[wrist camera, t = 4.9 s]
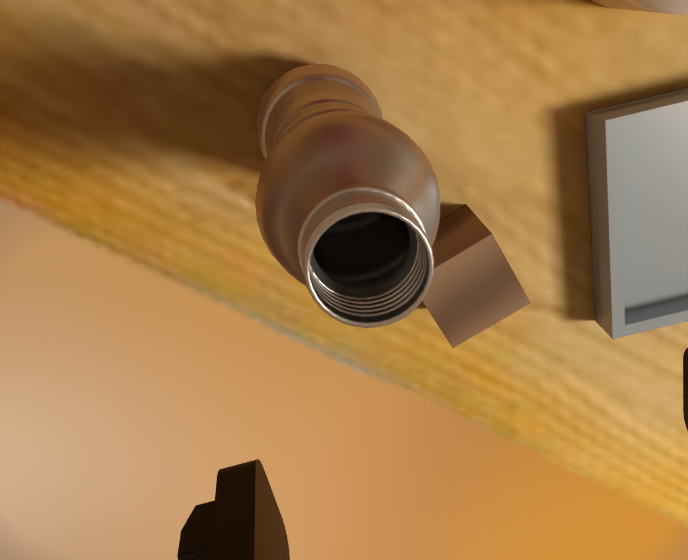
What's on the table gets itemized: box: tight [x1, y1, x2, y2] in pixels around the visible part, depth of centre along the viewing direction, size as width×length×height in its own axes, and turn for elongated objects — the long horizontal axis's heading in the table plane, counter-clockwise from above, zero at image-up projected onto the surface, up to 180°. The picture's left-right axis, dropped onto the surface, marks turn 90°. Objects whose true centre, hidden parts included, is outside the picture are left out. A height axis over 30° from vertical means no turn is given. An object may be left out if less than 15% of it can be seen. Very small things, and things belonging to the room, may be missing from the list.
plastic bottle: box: [255, 64, 440, 328], centre depth 27 cm, size 6×7×20 cm
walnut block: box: [423, 205, 530, 348], centre depth 38 cm, size 5×5×5 cm
